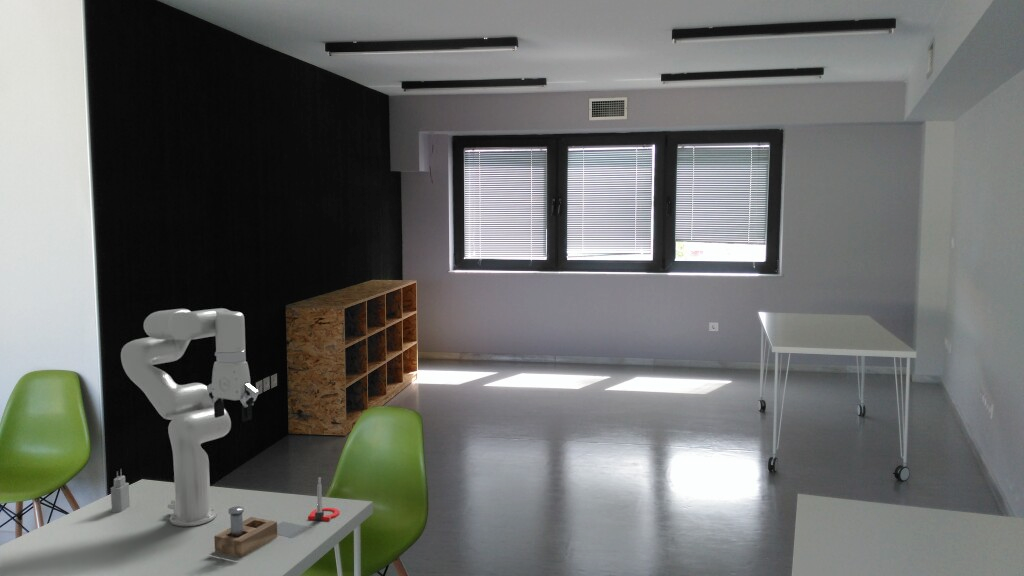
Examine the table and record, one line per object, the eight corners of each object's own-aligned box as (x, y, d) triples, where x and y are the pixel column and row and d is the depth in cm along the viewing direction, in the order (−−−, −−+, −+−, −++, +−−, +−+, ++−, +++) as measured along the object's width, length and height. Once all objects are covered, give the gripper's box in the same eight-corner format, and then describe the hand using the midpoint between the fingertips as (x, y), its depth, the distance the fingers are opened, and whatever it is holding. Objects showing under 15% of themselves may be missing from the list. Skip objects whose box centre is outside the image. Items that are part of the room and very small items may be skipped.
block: (214, 552, 207) (214, 535, 206) (251, 532, 220) (251, 516, 219) (241, 558, 203) (241, 541, 203) (277, 537, 216) (276, 521, 216)
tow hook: (317, 510, 237) (304, 521, 228) (317, 468, 236) (304, 477, 227) (343, 512, 236) (332, 523, 227) (343, 470, 235) (332, 479, 226)
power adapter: (110, 511, 234) (108, 473, 233) (121, 505, 240) (119, 467, 238) (120, 512, 234) (118, 473, 233) (130, 505, 239) (129, 467, 238)
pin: (226, 549, 207) (225, 510, 206) (237, 544, 211) (235, 505, 210) (238, 552, 206) (236, 512, 205) (248, 546, 209) (246, 507, 208)
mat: (264, 532, 219) (264, 531, 219) (282, 522, 227) (282, 521, 227) (292, 538, 215) (292, 537, 215) (311, 528, 223) (311, 527, 223)
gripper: (196, 356, 213) (198, 418, 215) (246, 362, 206) (248, 425, 208) (216, 352, 220) (218, 411, 221) (265, 357, 213) (267, 418, 215)
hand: (233, 418), depth 215 cm, fingers open, 9 cm apart
